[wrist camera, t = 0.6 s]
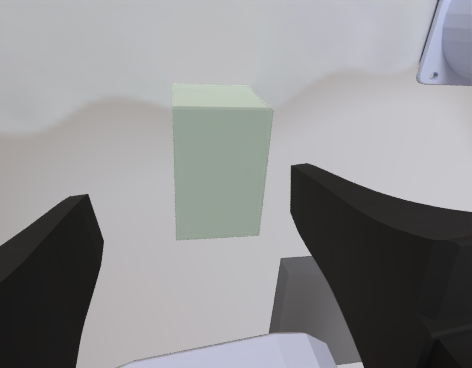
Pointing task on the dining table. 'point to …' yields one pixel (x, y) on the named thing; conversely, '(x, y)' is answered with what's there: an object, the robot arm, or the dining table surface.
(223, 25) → the dining table surface
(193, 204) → the block
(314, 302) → the stand
